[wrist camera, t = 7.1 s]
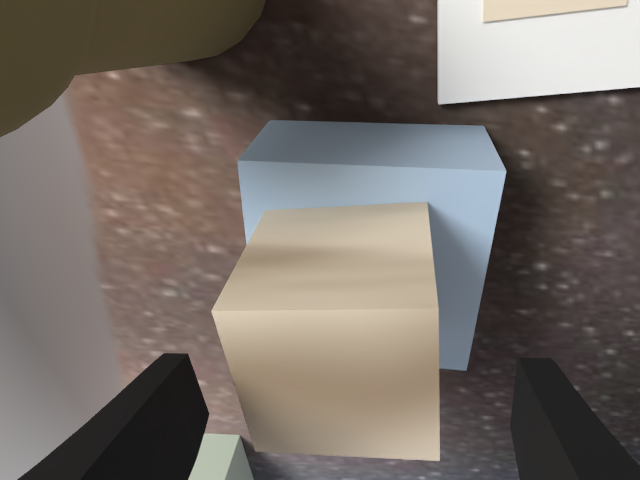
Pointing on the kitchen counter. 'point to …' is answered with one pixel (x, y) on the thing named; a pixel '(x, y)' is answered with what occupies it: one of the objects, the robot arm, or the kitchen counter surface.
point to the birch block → (336, 332)
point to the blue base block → (391, 195)
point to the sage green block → (221, 459)
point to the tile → (535, 48)
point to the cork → (104, 42)
